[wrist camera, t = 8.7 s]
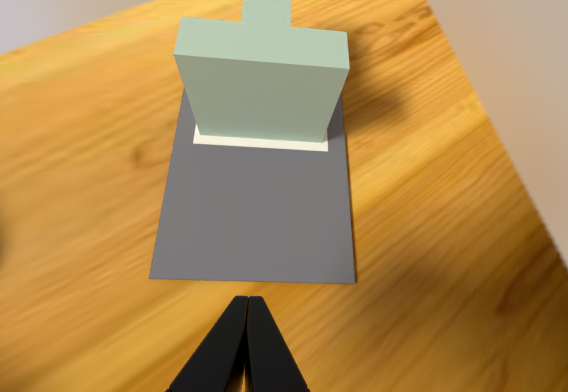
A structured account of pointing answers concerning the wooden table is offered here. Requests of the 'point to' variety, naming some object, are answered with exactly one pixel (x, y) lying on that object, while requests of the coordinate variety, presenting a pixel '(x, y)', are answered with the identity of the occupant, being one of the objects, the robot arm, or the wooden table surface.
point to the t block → (261, 74)
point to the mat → (255, 208)
